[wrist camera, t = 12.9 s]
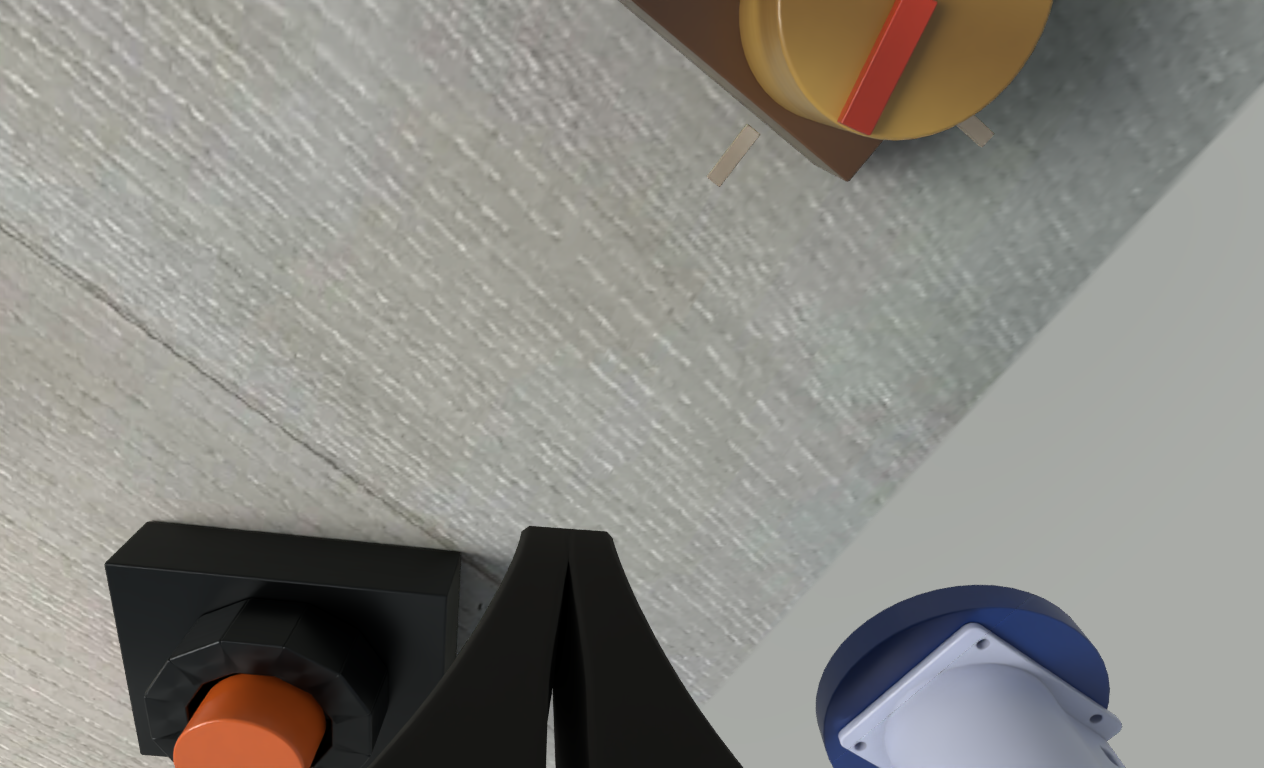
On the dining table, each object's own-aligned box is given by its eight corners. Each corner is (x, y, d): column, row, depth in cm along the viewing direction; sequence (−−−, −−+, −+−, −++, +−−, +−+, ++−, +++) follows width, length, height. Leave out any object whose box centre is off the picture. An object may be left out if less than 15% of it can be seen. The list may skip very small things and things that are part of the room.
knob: (799, -160, 14) (870, -248, 10) (994, -59, 15) (1133, -103, 11) (703, 73, 15) (732, 78, 12) (884, 154, 16) (969, 184, 12)
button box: (461, 551, 24) (433, 639, 20) (452, 726, 27) (427, 829, 24) (147, 520, 23) (59, 605, 20) (175, 703, 27) (105, 805, 23)
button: (325, 676, 21) (301, 726, 20) (328, 762, 23) (306, 814, 21) (198, 665, 21) (164, 714, 20) (210, 752, 23) (179, 805, 21)
